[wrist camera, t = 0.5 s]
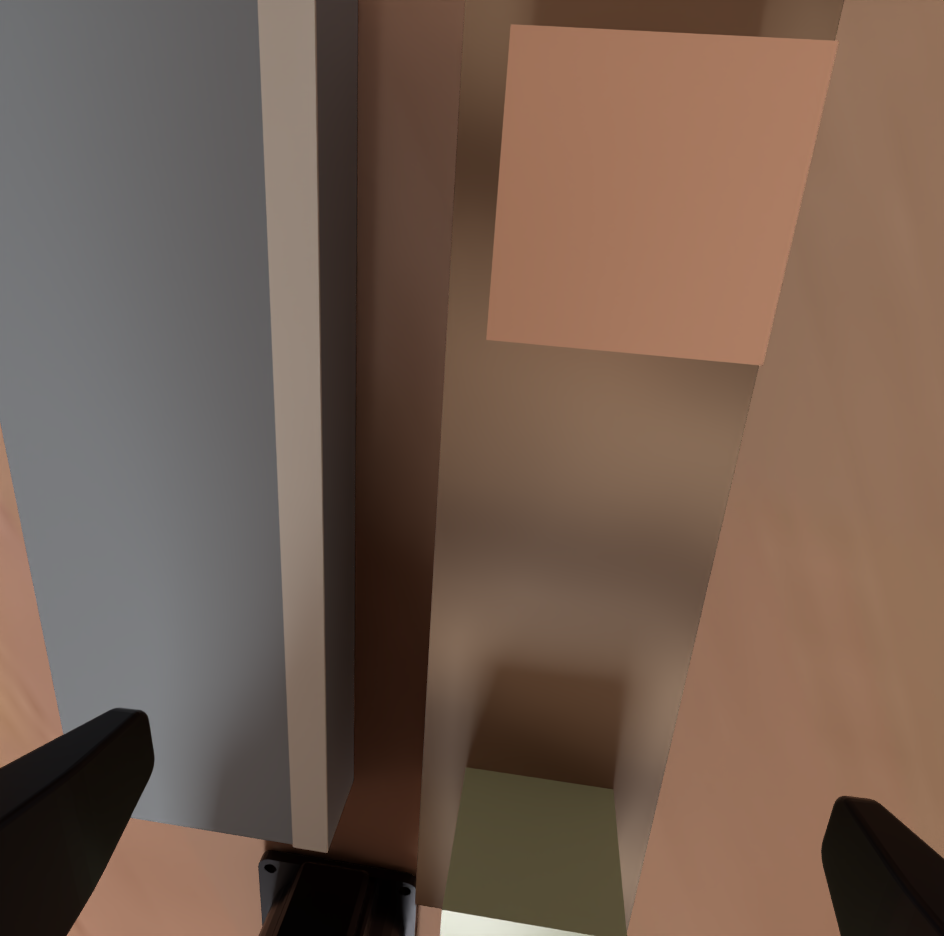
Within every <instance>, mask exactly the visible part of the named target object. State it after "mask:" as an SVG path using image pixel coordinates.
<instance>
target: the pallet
mask: <svg viewBox="0 0 944 936" xmlns="http://www.w3.org/2000/svg"><path fill="white" fill-rule="evenodd" d="M843 4H844V0H465V6H464V24H463V43H462V61H461V79H460V97H459V115H458V133H457V151H456V169H455V187H454V205H453V224H452V242H451V260H450V278H449V296H448V314H447V332H446V350H445V368H444V386H443V405H442V423H441V441H440V459H439V477H438V495H437V513H436V531H435V549H434V567H433V585H432V604H431V622H430V640H429V658H428V676H427V694H426V712H425V730H424V748H423V766H422V785H421V803H420V821H419V839H418V857H417V875H416V893H415V904H417V905H423V906H429V907H435V908H441V909H442V907H443V901H444V895H445V889H446V883H447V877H448V871H449V865H450V859H451V853H452V847H453V841H454V835H455V829H456V823H457V817H458V811H459V806H460V800H461V794H462V788H463V782H464V776H465V770H466V767H468V768H474V769H481V770H488V771H494V772H501V773H508V774H514V775H521V776H527V777H534V778H541V779H547V780H554V781H561V782H567V783H574V784H581V785H587V786H594V787H600V788H607V789H613V791H614V802H615V813H616V824H617V834H618V845H619V856H620V867H621V877H622V888H623V899H624V910H625V920H626V931H627V930H628V925H629V921H630V917H631V913H632V908H633V904H634V900H635V895H636V891H637V887H638V883H639V878H640V874H641V870H642V865H643V861H644V857H645V853H646V848H647V844H648V840H649V835H650V831H651V827H652V823H653V818H654V814H655V810H656V805H657V801H658V797H659V793H660V788H661V784H662V780H663V775H664V771H665V767H666V763H667V758H668V754H669V750H670V745H671V741H672V737H673V733H674V728H675V724H676V720H677V715H678V711H679V707H680V703H681V698H682V694H683V690H684V685H685V681H686V677H687V673H688V668H689V664H690V660H691V655H692V651H693V647H694V642H695V638H696V634H697V630H698V625H699V621H700V617H701V612H702V608H703V604H704V600H705V595H706V591H707V587H708V582H709V578H710V574H711V570H712V565H713V561H714V557H715V552H716V548H717V544H718V540H719V535H720V531H721V527H722V522H723V518H724V514H725V510H726V505H727V501H728V497H729V492H730V488H731V484H732V480H733V475H734V471H735V467H736V462H737V458H738V454H739V450H740V445H741V441H742V437H743V432H744V428H745V424H746V420H747V415H748V411H749V407H750V402H751V398H752V394H753V389H754V385H755V381H756V377H757V372H758V368H759V365H750V364H740V363H729V362H718V361H707V360H697V359H686V358H675V357H664V356H654V355H643V354H632V353H621V352H611V351H600V350H589V349H578V348H568V347H557V346H546V345H535V344H525V343H514V342H503V341H492V340H486V336H487V323H488V310H489V297H490V284H491V271H492V258H493V246H494V233H495V220H496V207H497V194H498V181H499V168H500V155H501V143H502V130H503V117H504V104H505V91H506V78H507V65H508V52H509V39H510V27H511V24H515V25H535V26H555V27H574V28H594V29H614V30H634V31H654V32H673V33H693V34H713V35H733V36H753V37H772V38H792V39H812V40H832V41H835V38H836V34H837V29H838V25H839V21H840V16H841V12H842V8H843Z"/></svg>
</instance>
